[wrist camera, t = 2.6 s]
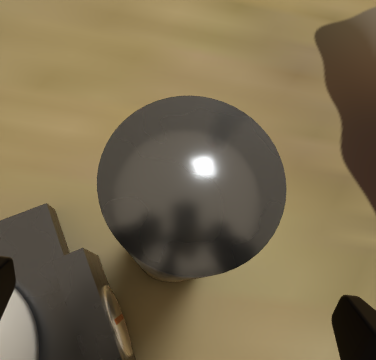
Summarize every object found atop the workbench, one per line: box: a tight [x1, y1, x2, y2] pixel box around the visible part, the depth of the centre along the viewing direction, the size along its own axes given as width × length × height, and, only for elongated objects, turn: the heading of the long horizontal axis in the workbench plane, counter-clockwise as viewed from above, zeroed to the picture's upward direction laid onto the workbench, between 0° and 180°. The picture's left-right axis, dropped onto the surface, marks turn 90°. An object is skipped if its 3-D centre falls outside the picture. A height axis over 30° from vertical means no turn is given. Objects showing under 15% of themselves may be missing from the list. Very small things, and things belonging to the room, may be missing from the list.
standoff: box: [97, 96, 286, 282], centre depth 13 cm, size 4×4×12 cm
